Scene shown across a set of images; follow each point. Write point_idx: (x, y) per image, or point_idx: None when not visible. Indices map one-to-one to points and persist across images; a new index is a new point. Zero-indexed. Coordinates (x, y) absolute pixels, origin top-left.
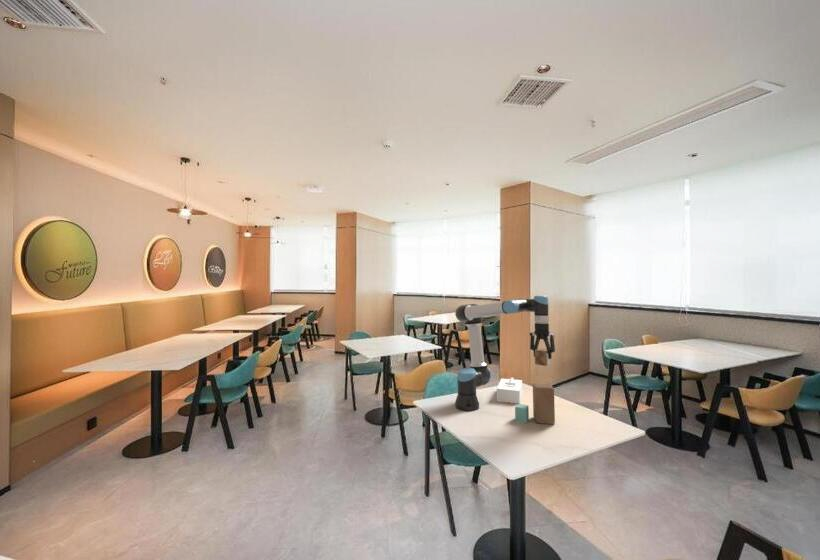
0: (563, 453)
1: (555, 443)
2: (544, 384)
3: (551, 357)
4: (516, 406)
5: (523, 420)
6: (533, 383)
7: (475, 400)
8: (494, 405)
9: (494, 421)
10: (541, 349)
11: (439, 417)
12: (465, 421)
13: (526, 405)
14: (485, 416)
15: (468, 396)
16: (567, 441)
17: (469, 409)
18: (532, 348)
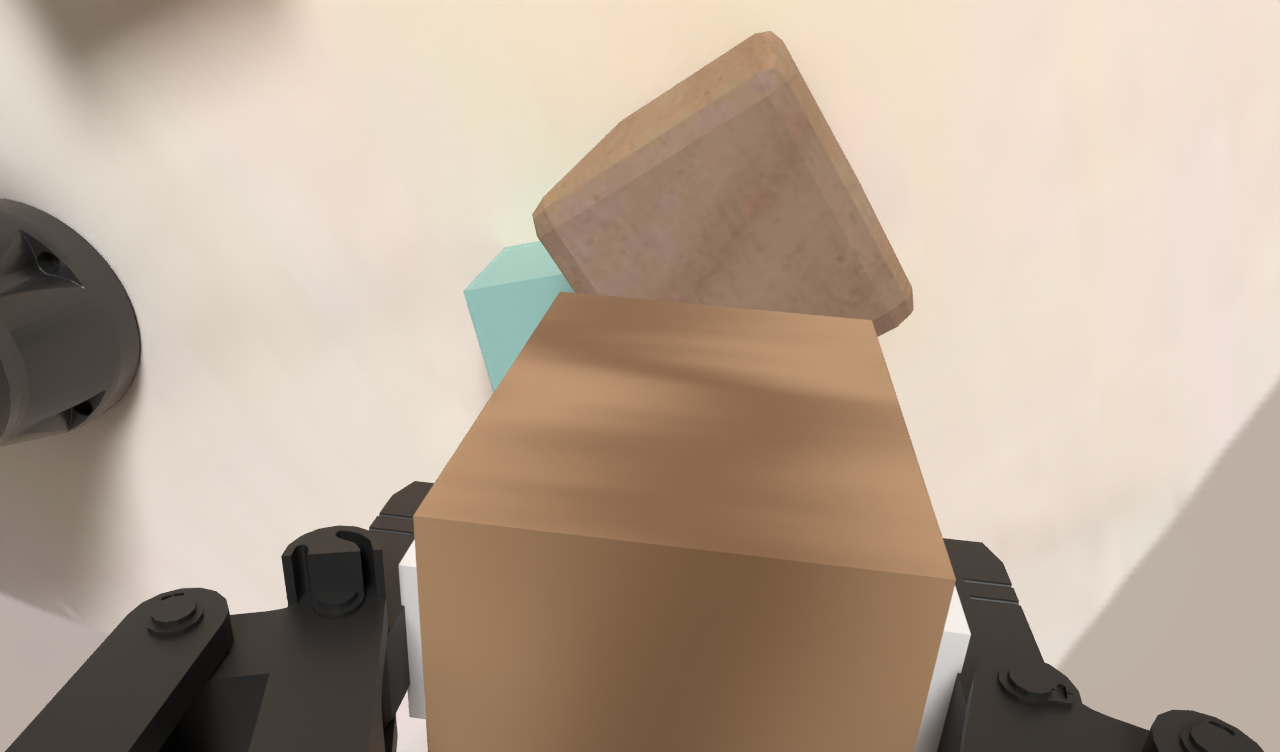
0: (1044, 638)
1: (961, 538)
2: (724, 213)
3: (1003, 573)
4: (500, 380)
5: None
6: (549, 249)
7: (61, 356)
8: (155, 102)
9: (410, 456)
10: (589, 680)
11: (92, 623)
12: (262, 579)
13: (563, 285)
14: (293, 411)
15: (2, 437)
16: (1038, 457)
17: (115, 401)
18: (238, 747)
